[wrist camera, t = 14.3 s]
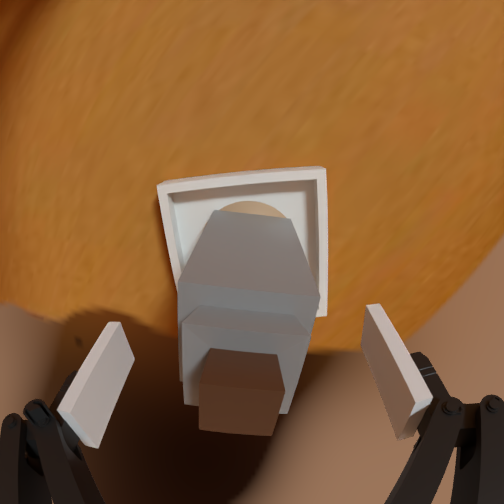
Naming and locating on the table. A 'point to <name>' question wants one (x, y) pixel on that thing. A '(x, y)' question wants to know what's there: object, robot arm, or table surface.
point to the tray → (250, 211)
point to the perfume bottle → (244, 321)
